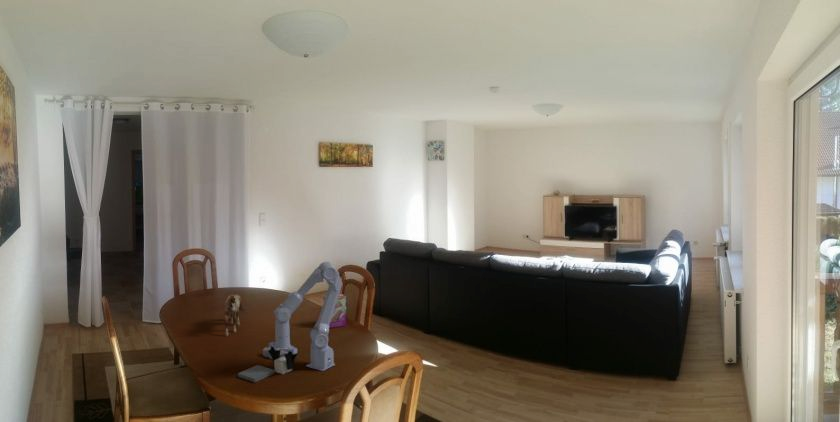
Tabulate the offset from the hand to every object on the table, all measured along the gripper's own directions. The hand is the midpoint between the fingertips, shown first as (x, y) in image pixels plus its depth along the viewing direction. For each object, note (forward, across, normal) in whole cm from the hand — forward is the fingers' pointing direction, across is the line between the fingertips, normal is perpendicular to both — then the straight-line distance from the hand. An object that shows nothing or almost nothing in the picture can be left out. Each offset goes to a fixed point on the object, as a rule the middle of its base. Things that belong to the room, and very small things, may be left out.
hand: (283, 367), depth 214 cm
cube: (+2, 0, 0) cm, 2 cm away
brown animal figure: (+2, -60, +27) cm, 66 cm away
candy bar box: (+2, -20, +56) cm, 59 cm away
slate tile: (+2, -6, -9) cm, 11 cm away
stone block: (+2, -15, +12) cm, 20 cm away
